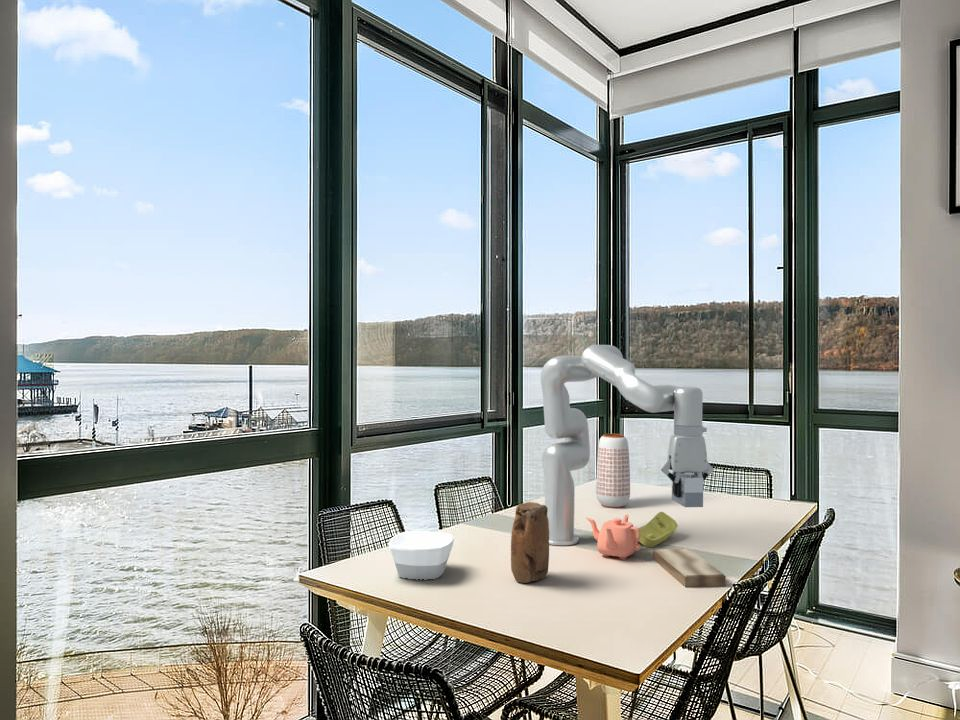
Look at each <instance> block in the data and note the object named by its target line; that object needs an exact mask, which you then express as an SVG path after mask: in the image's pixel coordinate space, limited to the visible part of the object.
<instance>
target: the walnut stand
mask: <svg viewBox="0 0 960 720" xmlns="http://www.w3.org/2000/svg"><path fill="white" fill-rule="evenodd" d="M652 556H653V557H652V558H653V559H652V560H653V561H654V562H655V563H657V564H658V565H659V566H660V567H661V568H662V569H664V570H665V571H666V572H667V573H668V574H669V575H670V576H672V577H673V579H675V580H676V581H677V582H679V583H680V584H681V585H682V586H683V587H684V586H685V588H697V587H699V588H700V587H701V588H703V586H706V588H707V587H708V588H709V587H726V582H727V581H726V577H727V576H726V575H725V574H724V573H723V572H721V571H720V570H718V569H717V568H716V567H714V566H713V565H711V563H709V562H707V561H706V560H705V559H704V558H702V557H701V556H699V555H698V554H697V553H695V552H694V551H692V550H691V549H690V548H672V549H670V548H666V549H663V548H661V549H654V550H653V554H652Z"/></svg>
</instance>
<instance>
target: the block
mask: <svg viewBox="0 0 960 720" xmlns="http://www.w3.org/2000/svg"><path fill="white" fill-rule="evenodd" d="M547 512H548V508H547V506H545V504H541V503H538V502H533V501H528V502H525V503H519V504H518V505H517V506H516V508H515V513H514V514H515V516H514V519H513V523H512V528H511V536H510V538H511V539H510V569H511V573H512V574H513V577H514V580H515V582H517V583H518V582H519V583H523V584H525V583H532V582H536V581H540V580H543V579H544V578H546V576H548V573H549V566H550V565H549V563H550V544H549V520H548V517H547Z"/></svg>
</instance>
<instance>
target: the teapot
mask: <svg viewBox="0 0 960 720" xmlns="http://www.w3.org/2000/svg"><path fill="white" fill-rule="evenodd" d="M629 517H630V515H629V514H625V515H624V516H623V520H622V518H617V517H616V518H613V519H610V520H607V521H605V522H604V523H603V524H602V525H601V527H600V530H599V529H598V526H597V523H596V521H595V520H594V519H592V518H588V517H586V518H585V519H587V521H588V522H589V523H590V524H591V529H592V534H593V537H594V539H595V540H596V541H597V551H598V553H599V554H602V556H601V557H604V558H609V557H610V556H611V557H618V558H619V560H621V561H625V560H627V557H629V556H632V555H633V554H634V553H635V552H637V551H640V550H641V549H642V546H641V544H640V543H639V539H640V537H641V532H640V530H639V527H635V526H634V523H632V522H629ZM635 531H637V533H638V536H637V539H636V533H635Z"/></svg>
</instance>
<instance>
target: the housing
mask: <svg viewBox="0 0 960 720" xmlns="http://www.w3.org/2000/svg"><path fill="white" fill-rule="evenodd" d="M671 473H672V474H673V470H671ZM679 483H680V484H681V491H680V498H677V497H676V496H674V494H673V481H671V500H672V501H674V502H676V503H677V504H678V505H680V506H682V507H684V508H703V507H704V482H703V477H700V476H698V475H696V474H694V473H681V476H680V479H679Z"/></svg>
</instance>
